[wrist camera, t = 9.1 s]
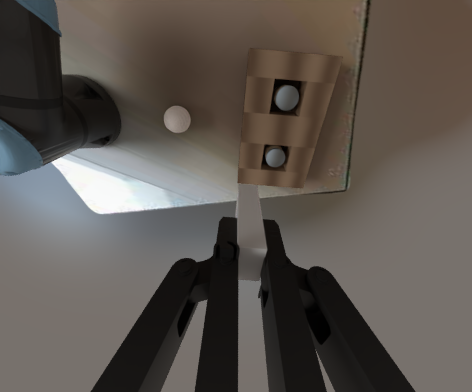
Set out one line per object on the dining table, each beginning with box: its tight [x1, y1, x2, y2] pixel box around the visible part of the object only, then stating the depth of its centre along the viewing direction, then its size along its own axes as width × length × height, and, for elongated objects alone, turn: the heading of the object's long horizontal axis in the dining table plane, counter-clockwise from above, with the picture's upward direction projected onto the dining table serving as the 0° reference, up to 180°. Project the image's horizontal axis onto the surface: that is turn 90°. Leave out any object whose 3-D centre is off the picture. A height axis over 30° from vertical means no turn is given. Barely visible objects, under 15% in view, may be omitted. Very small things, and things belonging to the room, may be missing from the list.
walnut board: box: [238, 48, 343, 188], centre depth 42 cm, size 16×26×6 cm, turn 176°
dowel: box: [264, 144, 285, 167], centre depth 45 cm, size 4×4×6 cm
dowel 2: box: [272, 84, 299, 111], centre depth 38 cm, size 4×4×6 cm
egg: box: [164, 106, 191, 133], centre depth 41 cm, size 5×5×8 cm
